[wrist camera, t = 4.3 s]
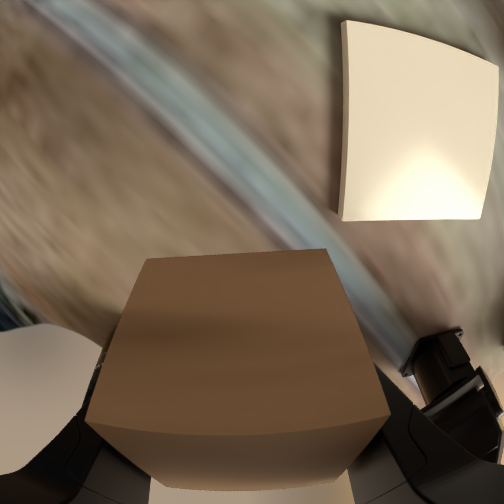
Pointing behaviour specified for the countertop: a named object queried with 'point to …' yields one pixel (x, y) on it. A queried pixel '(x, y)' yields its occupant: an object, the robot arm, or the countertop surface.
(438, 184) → the coaster
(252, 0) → the countertop surface
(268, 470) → the cube
